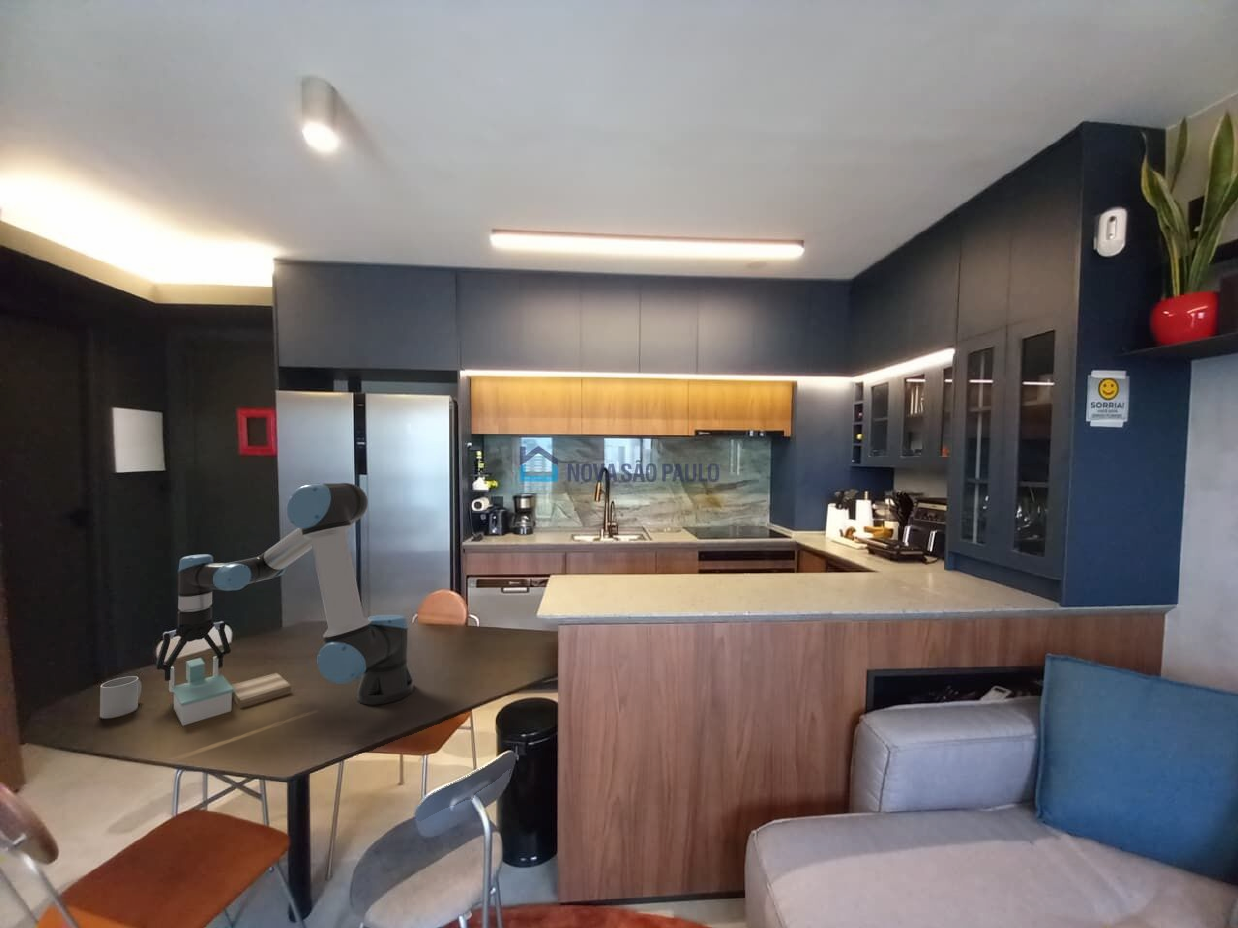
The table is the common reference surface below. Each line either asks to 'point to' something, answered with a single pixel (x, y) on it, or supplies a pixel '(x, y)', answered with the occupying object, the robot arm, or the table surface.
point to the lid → (200, 684)
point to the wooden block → (260, 689)
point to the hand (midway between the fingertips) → (194, 684)
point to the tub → (203, 708)
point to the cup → (119, 696)
